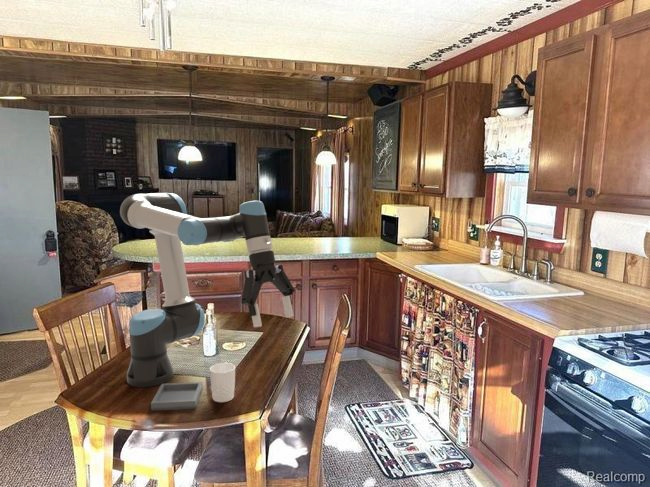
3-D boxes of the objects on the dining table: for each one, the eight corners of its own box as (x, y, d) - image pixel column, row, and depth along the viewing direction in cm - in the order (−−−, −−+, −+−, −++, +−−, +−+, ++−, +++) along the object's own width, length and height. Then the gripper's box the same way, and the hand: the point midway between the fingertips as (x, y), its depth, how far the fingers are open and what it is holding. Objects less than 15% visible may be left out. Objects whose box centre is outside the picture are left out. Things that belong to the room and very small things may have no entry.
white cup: (225, 389, 149) (224, 360, 148) (241, 396, 144) (240, 367, 143) (205, 398, 143) (204, 368, 142) (221, 406, 138) (220, 375, 137)
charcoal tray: (162, 390, 148) (161, 383, 148) (202, 389, 150) (202, 381, 149) (151, 410, 135) (150, 403, 135) (195, 408, 137) (195, 401, 136)
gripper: (237, 254, 124) (252, 330, 123) (297, 246, 144) (310, 311, 143) (220, 258, 129) (234, 332, 128) (280, 250, 148) (293, 314, 147)
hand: (274, 321), depth 135 cm, fingers open, 13 cm apart
